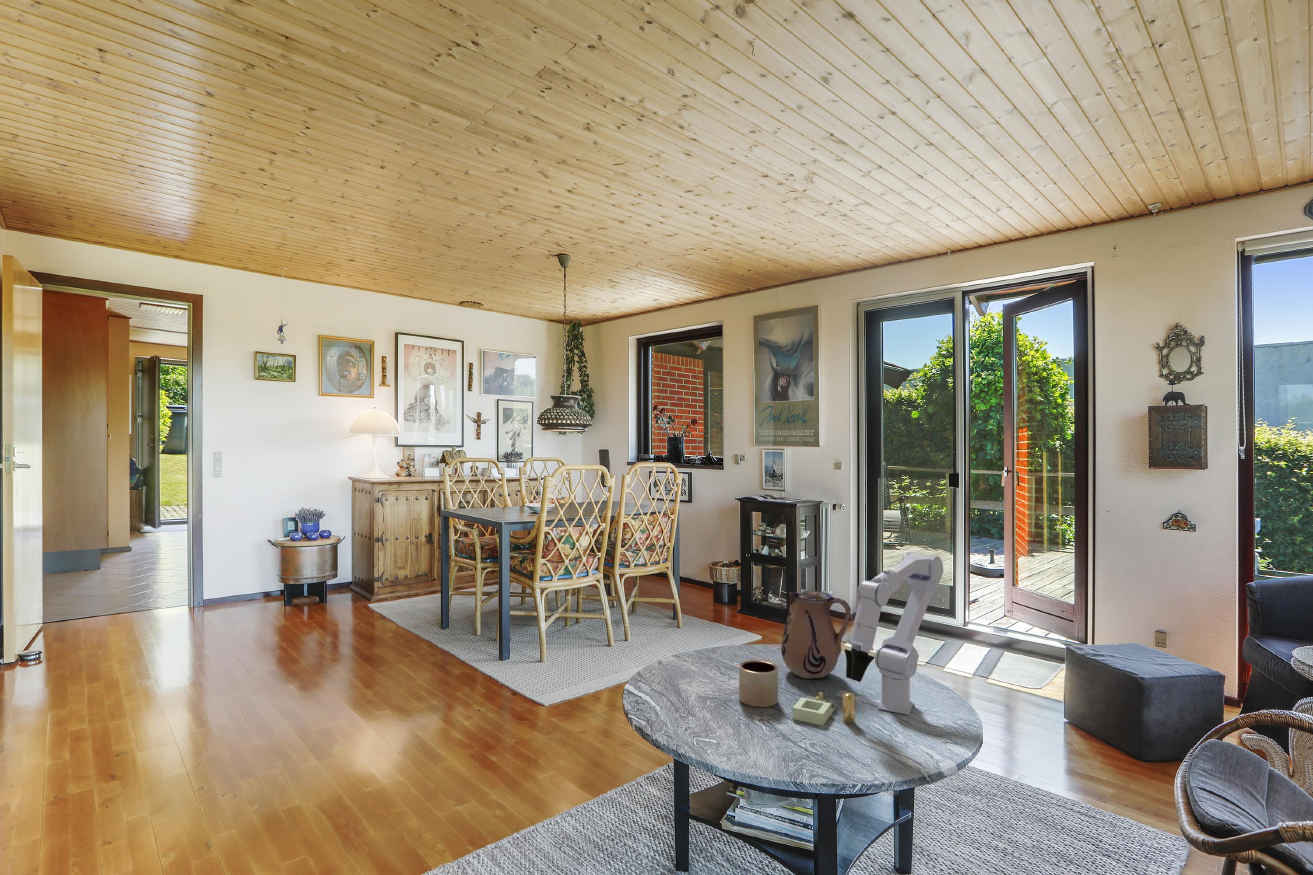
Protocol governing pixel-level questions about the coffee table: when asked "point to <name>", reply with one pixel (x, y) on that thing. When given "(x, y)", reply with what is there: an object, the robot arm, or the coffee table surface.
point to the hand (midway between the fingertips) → (853, 679)
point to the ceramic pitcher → (812, 634)
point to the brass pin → (848, 708)
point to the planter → (758, 683)
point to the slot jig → (814, 709)
